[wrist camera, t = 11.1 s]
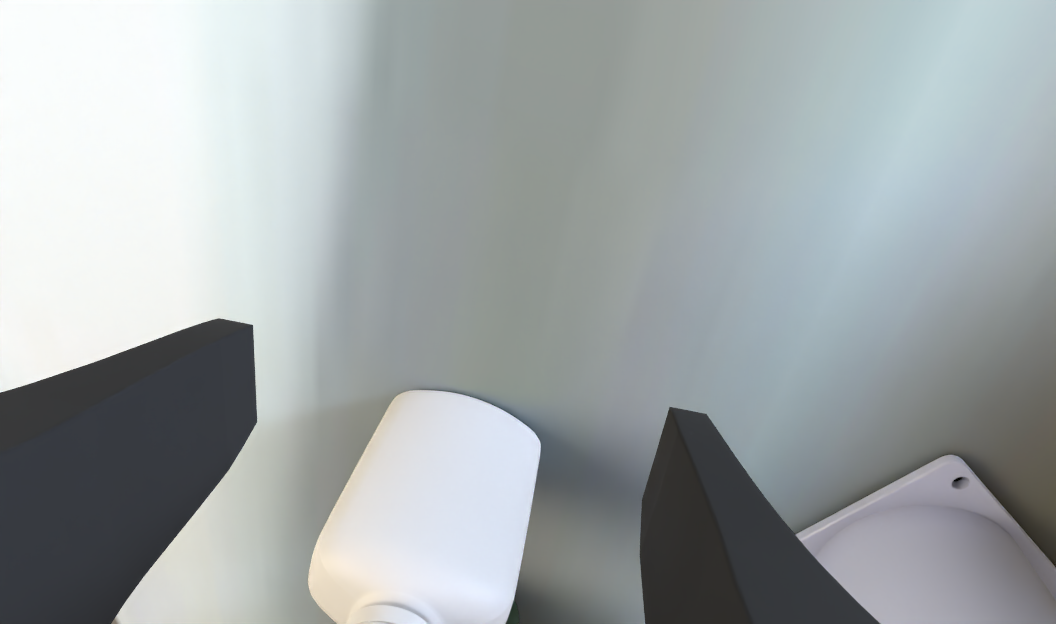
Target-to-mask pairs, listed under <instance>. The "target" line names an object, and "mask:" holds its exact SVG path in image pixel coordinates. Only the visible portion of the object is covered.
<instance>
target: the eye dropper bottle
mask: <svg viewBox="0 0 1056 624" xmlns="http://www.w3.org/2000/svg"><path fill="white" fill-rule="evenodd" d="M540 453H541V444H540V441H539V439H538V437H537V436H536V434H535V433H534V432H533V431H532V430H531V429H530V428H529V427H528V426H526V425H525V424H524V423H522V422H521V421H519V420H518V419H516V418H515V417H513V416H512V415H510V414H509V413H507V412H505V411H503V410H501V409H500V408H498V407H495V406H493V405H491V404H489V403H486V402H484V401H481V400H479V399H476V398H472V397H469V396H465V395H461V394H457V393H452V392H445V391H435V390H412V391H406V392H404V393H401V394H399V395H397V396H396V397H395V398H394V400H393V401H392V402H391V404H390V406H389V407H388V409H387V411H386V413H385V415H384V416H383V418H382V420H381V422H380V424H379V425H378V427H377V429H376V431H375V433H374V435H373V436H372V438H371V440H370V442H369V444H368V446H367V447H366V449H365V451H364V453H363V455H362V457H361V458H360V460H359V462H358V464H357V466H356V468H355V469H354V471H353V473H352V475H351V477H350V479H349V481H348V482H347V484H346V486H345V488H344V490H343V492H342V494H341V495H340V497H339V499H338V501H337V503H336V505H335V507H334V508H333V510H332V512H331V514H330V516H329V518H328V520H327V522H326V524H325V526H324V528H323V530H322V532H321V534H320V536H319V538H318V541H317V543H316V546H315V549H314V552H313V556H312V560H311V565H310V570H309V577H308V585H309V589H310V593H311V595H312V597H313V599H314V600H315V601H316V603H317V604H318V605H319V607H320V608H321V609H322V610H323V611H324V612H325V613H326V614H327V615H328V616H329V617H330V618H331V619H333V620H334V621H335V622H336V623H337V624H506V621H507V619H508V616H509V613H510V610H511V607H512V604H513V601H514V597H515V592H516V587H517V582H518V577H519V572H520V567H521V561H522V556H523V550H524V545H525V539H526V534H527V528H528V523H529V517H530V511H531V506H532V500H533V494H534V489H535V483H536V477H537V471H538V466H539V460H540Z"/></svg>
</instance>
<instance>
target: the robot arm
mask: <svg viewBox="0 0 1056 624" xmlns="http://www.w3.org/2000/svg"><path fill="white" fill-rule="evenodd" d="M256 423H257V409H256V386H255V363H254V340H253V325H250V324H245V323H240V322H235V321H230V320H224V319H215V320H211V321H207V322H204V323H201V324H198V325H195V326H192V327H189V328H186V329H183V330H181V331H178V332H175V333H172V334H170V335H167V336H164V337H162V338H159V339H156V340H154V341H151V342H148V343H146V344H143V345H140V346H137V347H135V348H132V349H129V350H127V351H124V352H121V353H119V354H116V355H113V356H110V357H108V358H105V359H102V360H100V361H97V362H94V363H91V364H88V365H85V366H82V367H79V368H76V369H73V370H70V371H67V372H64V373H61V374H58V375H55V376H52V377H49V378H46V379H43V380H40V381H37V382H34V383H31V384H28V385H25V386H22V387H18V388H15V389H12V390H8V391H5V392H1V393H0V624H111V623H112V621H113V620H114V618H115V617H116V615H117V614H118V612H119V611H120V609H121V608H122V606H123V604H124V603H125V601H126V600H127V599H128V597H129V596H130V595H131V593H132V592H133V590H134V589H135V588H136V586H137V585H138V584H139V582H140V581H141V580H142V578H143V577H144V576H145V574H146V573H147V572H148V571H149V569H150V568H151V567H152V566H153V564H154V563H155V562H156V561H157V559H158V558H159V557H160V556H161V554H162V553H163V552H164V551H165V549H166V548H167V547H168V546H169V544H170V543H171V542H172V541H173V539H174V538H175V537H176V536H177V535H178V533H179V532H180V531H181V530H182V528H183V527H184V526H185V525H186V523H187V522H188V521H189V520H190V518H191V517H192V516H193V515H194V513H195V512H196V511H197V510H198V508H199V507H200V506H201V505H202V503H203V502H204V501H205V500H206V498H207V497H208V496H209V495H210V493H211V492H212V491H213V489H214V488H215V487H216V486H217V484H218V483H219V482H220V481H221V479H222V478H223V477H224V475H225V474H226V473H227V471H228V470H229V469H230V467H231V465H232V464H233V462H234V461H235V459H236V457H237V456H238V454H239V452H240V451H241V449H242V447H243V446H244V444H245V442H246V440H247V439H248V437H249V435H250V433H251V432H252V430H253V428H254V426H255V425H256ZM959 477H963V478H962V479H961V480H959V481H956V482H954V481H953V480H955V479H956V478H959ZM640 564H641V577H642V589H643V601H644V613H645V624H1056V567H1055V566H1054V565H1053V563H1052V562H1051V561H1050V560H1049V559H1048V558H1047V557H1046V555H1045V554H1044V553H1043V552H1042V551H1041V550H1040V548H1039V547H1038V546H1037V545H1036V544H1035V543H1034V542H1033V540H1032V539H1031V538H1030V537H1029V536H1028V535H1027V533H1026V532H1025V531H1024V530H1023V529H1022V528H1021V527H1020V525H1019V524H1018V523H1017V522H1016V521H1015V520H1014V518H1013V517H1012V516H1011V515H1010V514H1009V513H1008V512H1007V510H1006V509H1005V508H1004V507H1003V506H1002V505H1001V503H1000V502H999V501H998V500H997V499H996V498H995V497H994V495H993V494H992V493H991V492H990V491H989V490H988V488H987V487H986V486H985V485H984V484H983V483H982V482H981V480H980V479H979V478H978V477H977V476H976V475H975V473H974V472H973V471H972V470H971V469H970V468H969V467H968V465H967V464H966V463H965V462H964V461H963V460H962V459H961V458H960V457H958V456H955V455H945V456H943V457H940V458H938V459H936V460H934V461H932V462H930V463H928V464H927V465H925V466H923V467H921V468H919V469H917V470H915V471H913V472H912V473H910V474H908V475H906V476H904V477H902V478H900V479H898V480H897V481H895V482H893V483H891V484H889V485H887V486H885V487H883V488H882V489H880V490H878V491H876V492H874V493H872V494H870V495H868V496H867V497H865V498H863V499H861V500H859V501H857V502H855V503H853V504H852V505H850V506H848V507H846V508H844V509H842V510H840V511H838V512H837V513H835V514H833V515H831V516H829V517H827V518H825V519H823V520H821V521H820V522H818V523H816V524H814V525H812V526H810V527H808V528H806V529H805V530H803V531H801V532H799V533H797V534H794V533H793V532H792V530H791V529H790V528H789V527H788V526H787V524H786V523H785V522H784V521H783V520H782V518H781V517H780V516H779V515H778V513H777V512H776V511H775V510H774V508H773V507H772V506H771V505H770V503H769V502H768V501H767V499H766V498H765V497H764V495H763V494H762V493H761V491H760V490H759V489H758V487H757V486H756V485H755V483H754V482H753V481H752V479H751V478H750V476H749V475H748V474H747V472H746V471H745V469H744V468H743V467H742V465H741V464H740V462H739V461H738V459H737V458H736V457H735V455H734V454H733V452H732V451H731V449H730V448H729V446H728V445H727V444H726V442H725V441H724V439H723V438H722V436H721V435H720V433H719V432H718V430H717V429H716V427H715V426H714V424H713V423H712V421H711V420H710V419H709V417H708V416H707V414H703V413H698V412H693V411H688V410H683V409H678V408H672V407H670V408H669V411H668V415H667V418H666V421H665V425H664V428H663V431H662V435H661V438H660V442H659V445H658V448H657V452H656V455H655V458H654V462H653V465H652V468H651V472H650V475H649V479H648V482H647V485H646V489H645V492H644V495H643V499H642V512H641V534H640Z"/></svg>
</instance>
